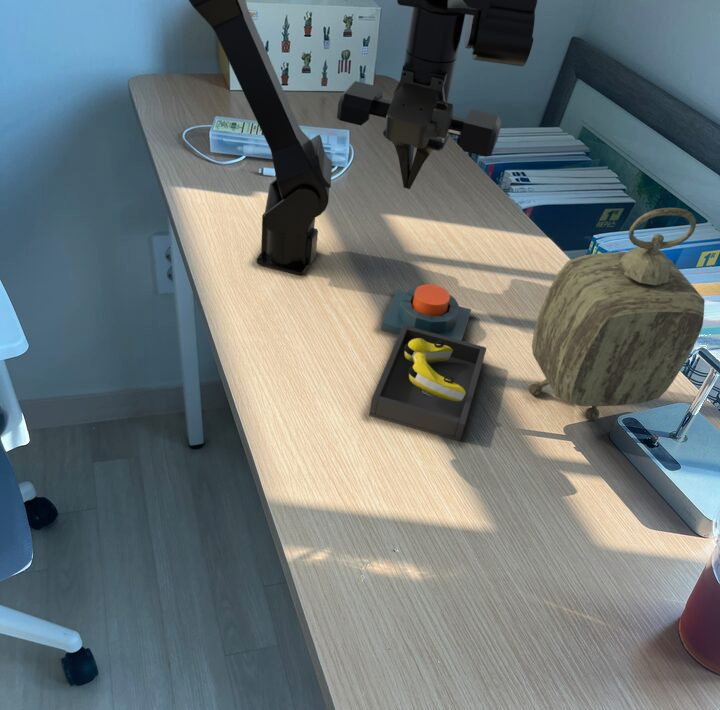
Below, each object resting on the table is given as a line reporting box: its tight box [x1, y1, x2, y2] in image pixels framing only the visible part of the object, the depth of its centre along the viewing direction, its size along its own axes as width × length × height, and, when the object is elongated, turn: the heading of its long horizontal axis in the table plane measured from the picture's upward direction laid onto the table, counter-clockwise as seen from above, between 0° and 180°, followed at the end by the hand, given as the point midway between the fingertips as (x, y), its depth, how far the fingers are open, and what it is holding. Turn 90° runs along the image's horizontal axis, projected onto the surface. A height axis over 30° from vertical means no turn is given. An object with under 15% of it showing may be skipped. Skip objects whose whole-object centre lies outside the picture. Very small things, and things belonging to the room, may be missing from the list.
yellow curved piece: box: [404, 338, 466, 401], centre depth 86 cm, size 10×6×4 cm, turn 2°
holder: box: [368, 325, 488, 443], centre depth 87 cm, size 10×14×3 cm
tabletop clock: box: [528, 207, 706, 422], centre depth 80 cm, size 14×9×25 cm, turn 102°
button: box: [413, 283, 451, 316], centre depth 94 cm, size 4×4×2 cm
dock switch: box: [380, 286, 472, 341], centre depth 95 cm, size 10×8×3 cm
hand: (407, 187), depth 95 cm, fingers closed
